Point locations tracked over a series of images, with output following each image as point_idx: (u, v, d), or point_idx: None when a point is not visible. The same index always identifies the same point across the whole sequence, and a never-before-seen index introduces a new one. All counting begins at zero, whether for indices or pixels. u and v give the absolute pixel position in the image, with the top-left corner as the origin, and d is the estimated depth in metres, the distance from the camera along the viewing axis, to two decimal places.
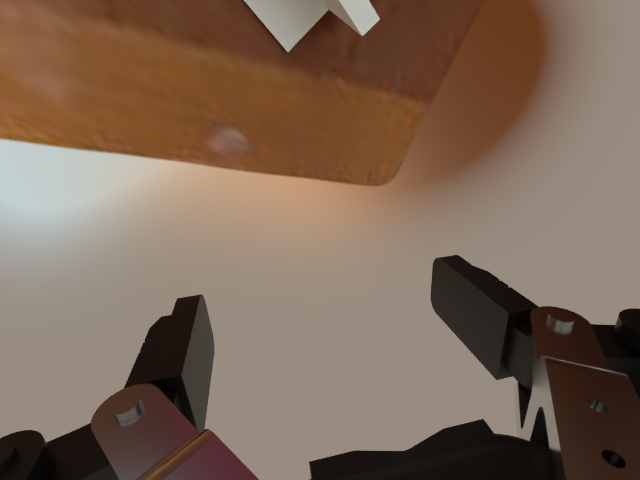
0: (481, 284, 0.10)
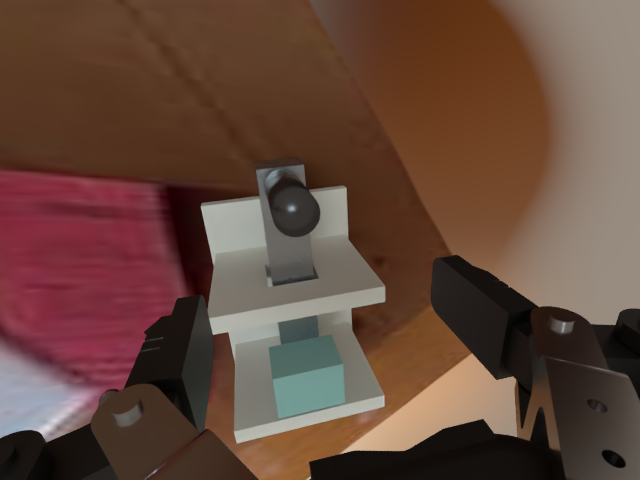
0: (481, 284, 0.10)
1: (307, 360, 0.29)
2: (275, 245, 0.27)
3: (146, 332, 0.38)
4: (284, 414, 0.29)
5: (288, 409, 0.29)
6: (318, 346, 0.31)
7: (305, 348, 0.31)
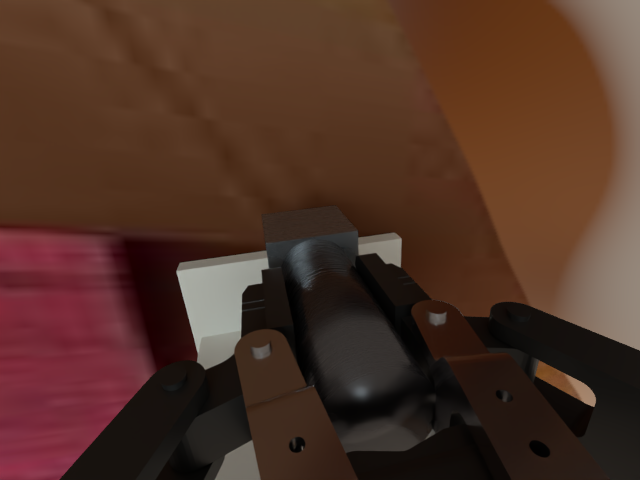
0: (384, 280, 0.10)
1: None
2: None
3: None
4: None
5: None
6: None
7: None
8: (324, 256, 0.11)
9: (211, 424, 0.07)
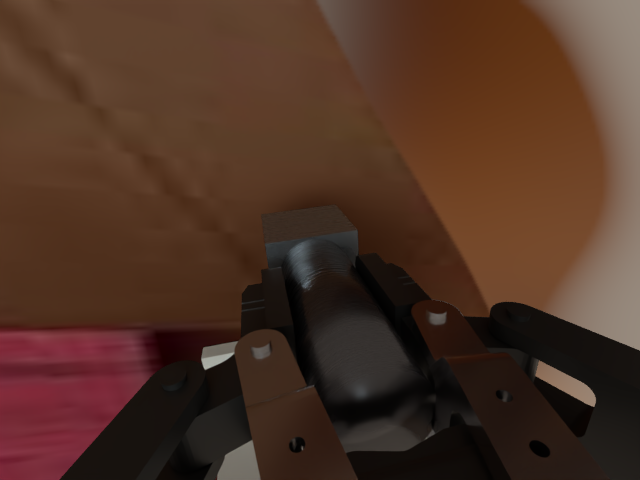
0: (384, 280, 0.10)
1: None
2: None
3: None
4: None
5: None
6: None
7: None
8: (324, 256, 0.11)
9: (211, 424, 0.07)
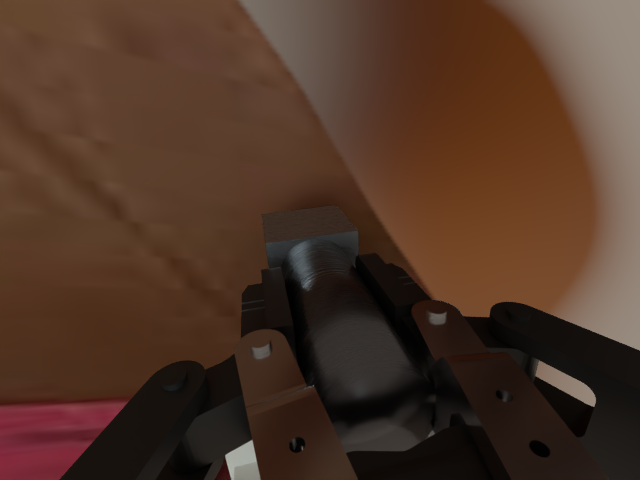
0: (384, 280, 0.10)
1: None
2: None
3: None
4: None
5: None
6: None
7: None
8: (324, 256, 0.11)
9: (211, 424, 0.07)
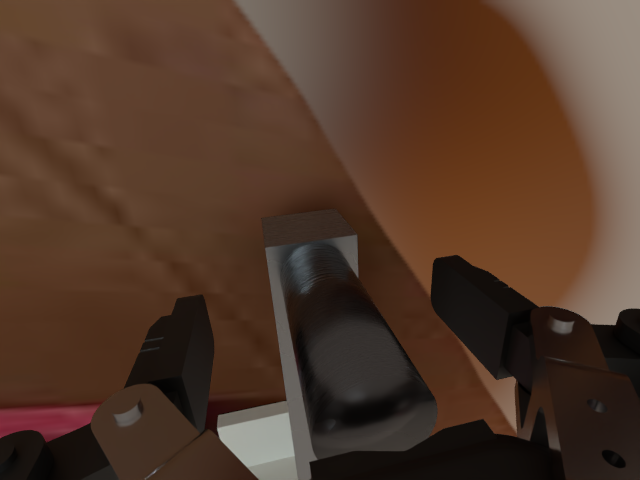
0: (481, 284, 0.10)
1: None
2: (298, 371, 0.15)
3: None
4: None
5: None
6: None
7: None
8: (323, 261, 0.12)
9: None
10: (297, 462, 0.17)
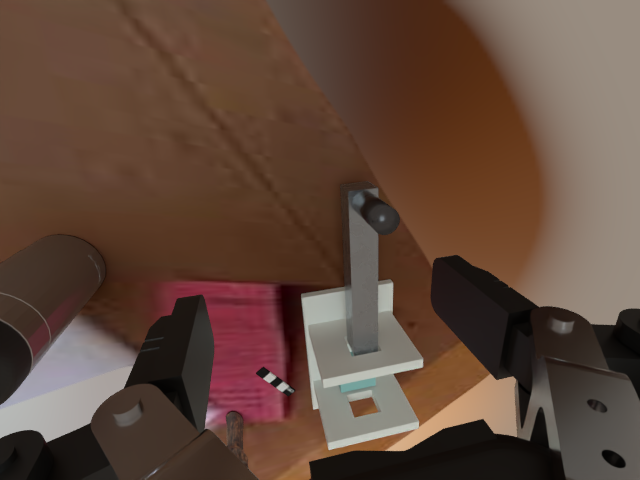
0: (481, 284, 0.10)
1: None
2: (355, 240, 0.41)
3: (257, 373, 0.57)
4: None
5: None
6: None
7: None
8: (368, 193, 0.37)
9: None
10: (352, 284, 0.43)
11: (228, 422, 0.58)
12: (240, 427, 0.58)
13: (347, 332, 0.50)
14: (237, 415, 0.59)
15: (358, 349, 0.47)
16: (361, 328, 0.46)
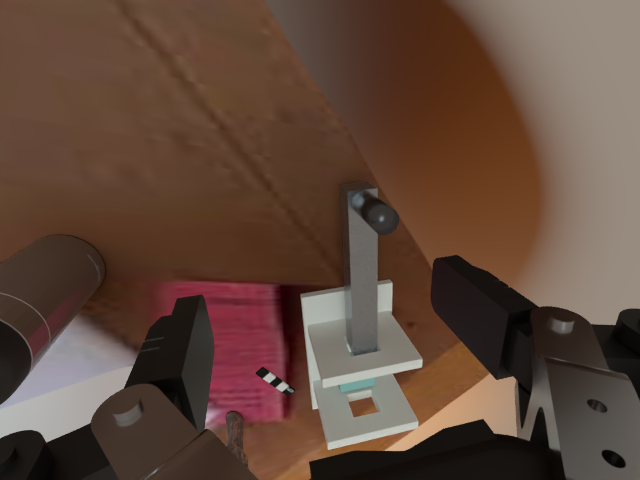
0: (481, 284, 0.10)
1: None
2: (354, 241, 0.41)
3: (257, 373, 0.57)
4: None
5: None
6: None
7: None
8: (368, 194, 0.37)
9: None
10: (351, 284, 0.43)
11: (228, 422, 0.58)
12: (240, 427, 0.58)
13: (346, 332, 0.50)
14: (237, 415, 0.59)
15: (357, 349, 0.47)
16: (361, 328, 0.46)
